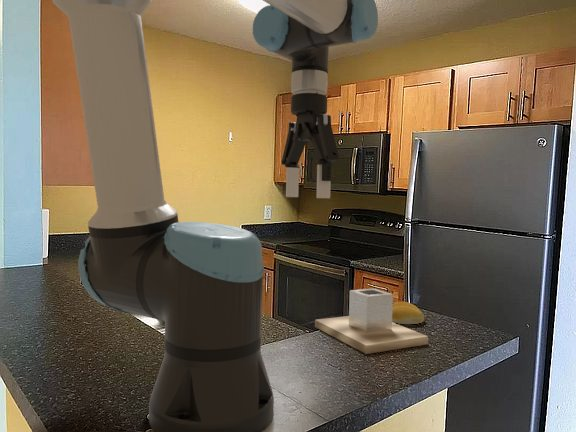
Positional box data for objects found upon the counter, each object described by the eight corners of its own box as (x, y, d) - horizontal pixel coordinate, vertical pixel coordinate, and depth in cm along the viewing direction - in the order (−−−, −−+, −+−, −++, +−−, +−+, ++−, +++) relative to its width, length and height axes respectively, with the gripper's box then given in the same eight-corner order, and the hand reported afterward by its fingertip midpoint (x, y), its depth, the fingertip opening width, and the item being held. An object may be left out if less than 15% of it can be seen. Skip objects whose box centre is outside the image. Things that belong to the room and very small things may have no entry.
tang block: (427, 344, 88) (429, 309, 88) (366, 354, 82) (367, 317, 82) (370, 320, 105) (370, 291, 104) (314, 326, 98) (315, 295, 98)
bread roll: (389, 326, 101) (389, 307, 101) (383, 315, 110) (384, 298, 110) (428, 327, 101) (429, 309, 100) (419, 316, 109) (420, 299, 109)
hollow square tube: (391, 329, 92) (392, 294, 92) (366, 333, 89) (367, 296, 89) (373, 322, 97) (374, 288, 97) (348, 325, 95) (349, 290, 94)
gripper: (359, 85, 89) (355, 199, 90) (297, 106, 111) (295, 196, 112) (324, 80, 85) (321, 198, 86) (268, 103, 108) (266, 196, 109)
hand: (306, 197), depth 99 cm, fingers open, 13 cm apart
